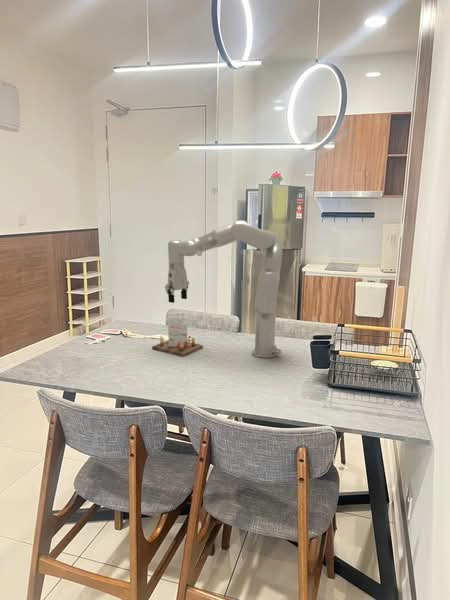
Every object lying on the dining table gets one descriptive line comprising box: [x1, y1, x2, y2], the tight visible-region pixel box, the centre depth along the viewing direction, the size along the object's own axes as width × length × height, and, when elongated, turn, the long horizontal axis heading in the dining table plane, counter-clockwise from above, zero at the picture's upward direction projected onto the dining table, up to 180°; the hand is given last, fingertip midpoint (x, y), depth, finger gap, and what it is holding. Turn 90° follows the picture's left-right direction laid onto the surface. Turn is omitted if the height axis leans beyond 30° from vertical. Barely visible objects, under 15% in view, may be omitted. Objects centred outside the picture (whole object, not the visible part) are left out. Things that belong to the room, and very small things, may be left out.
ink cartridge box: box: [167, 317, 188, 348], centre depth 213 cm, size 9×5×15 cm, turn 70°
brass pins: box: [159, 337, 196, 351], centre depth 215 cm, size 15×11×4 cm
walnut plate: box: [151, 339, 204, 358], centre depth 215 cm, size 20×16×2 cm
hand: (177, 300), depth 210 cm, fingers open, 9 cm apart
